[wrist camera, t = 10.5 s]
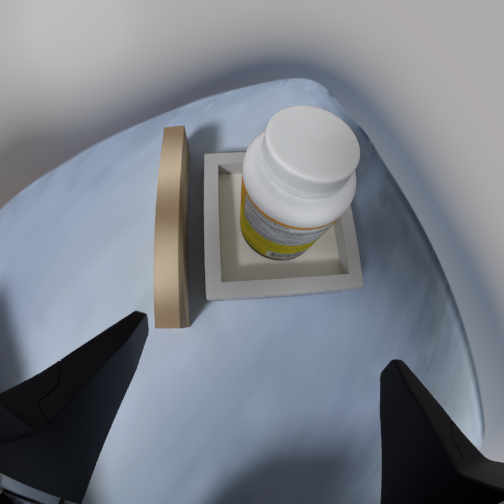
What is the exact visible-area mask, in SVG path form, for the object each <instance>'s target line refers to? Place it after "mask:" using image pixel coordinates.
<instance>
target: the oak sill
mask: <svg viewBox="0 0 504 504" xmlns="http://www.w3.org/2000/svg"><path fill="white" fill-rule="evenodd" d="M189 160H190V150H189V145H188V141H187V136H186V132H185V127H184V126H175V127H166V128H164V135H163V142H162V150H161V158H160V167H159V177H158V188H157V201H156V217H155V238H154V314H155V328H185V327H190V319H189V297H188V253H187V226H188V182H189Z"/></svg>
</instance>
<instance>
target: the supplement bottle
mask: <svg viewBox="0 0 504 504" xmlns="http://www.w3.org/2000/svg"><path fill="white" fill-rule="evenodd" d="M359 160H360V147H359V143H358V141H357V138H356V136H355V134H354V133H353V131H352V130H351V128H350V127H349V126H348V125H347V124H346V123H345V122H344V121H343V120H341V119H340V118H339V117H337V116H336V115H334V114H333V113H331V112H329V111H326V110H324V109H321V108H318V107H313V106H304V105H298V106H292V107H288V108H285V109H283V110H281V111H279V112H277V113H276V114H275V115H274V116H273V117H272V118H271V119H270V121H269V123H268V125H267V127H266V131H264V132H263V133H261V134H260V135H258V136H257V137H256V138H255V139H254V140H253V141H252V143H251V144H250V145H249V147H248V149H247V151H246V153H245V156H244V160H243V167H242V183H241V204H240V228H241V232H242V235H243V238H244V240H245V241H246V243H247V244H248V246H249V247H250V248H251V249H252V250H253V251H254V252H256V253H257V254H259V255H260V256H262V257H264V258H267V259H270V260H275V261H286V260H291V259H294V258H296V257H298V256H300V255H302V254H303V253H304V252H306V251H307V250H308V249H309V248H310V247H311V246H312V245H313V244H314V243H315V242H316V241H317V240H318V239H319V238H320V237H321V236H322V235H323V234H324V233H325V232H326V231H327V230H328V229H329V228H330V227H331V226H332V225H333V224H334V223H335V222H336V221H337V220H338V219H339V218H340V217H341V215H342V214H343V213H344V212H345V211H346V210H347V209H348V207H349V206H350V204H351V202H352V200H353V198H354V195H355V192H356V184H357V181H356V172H355V169H356V168H357V166H358V163H359Z"/></svg>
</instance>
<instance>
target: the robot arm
mask: <svg viewBox="0 0 504 504" xmlns="http://www.w3.org/2000/svg"><path fill="white" fill-rule="evenodd" d="M148 331H149V329H148V318H147V314H145V313H143V312H139V311H134V312H133V313H131V314H129V315H128V316H126V317H125V318H123V319H122V320H120V321H119V322H117V323H116V324H114V325H113V326H111V327H109V328H108V329H106V330H105V331H103V332H102V333H100V334H99V335H97V336H96V337H94V338H93V339H91V340H90V341H88V342H87V343H85V344H84V345H82V346H81V347H79V348H78V349H76V350H75V351H73V352H72V353H70V354H69V355H67V356H66V357H64V358H63V359H61V361H58V362H56V363H55V364H53V365H52V366H50V367H49V368H47V369H46V370H44V371H42V372H41V373H39V374H37V375H35V376H34V377H32V378H30V379H28V380H26V381H24V382H22V383H20V384H18V385H16V386H14V387H12V388H10V389H8V390H7V391H4V392H2V393H0V504H58V503H59V500H60V498H61V499H65V500H68V501H71V502H75V503H78V504H82V501H83V499H84V496H85V493H86V490H87V487H88V484H89V482H90V479H91V476H92V474H93V471H94V468H95V466H96V462H97V460H98V458H99V455H100V452H101V450H102V447H103V445H104V443H105V440H106V438H107V435H108V433H109V430H110V428H111V426H112V423H113V421H114V419H115V416H116V414H117V412H118V409H119V407H120V405H121V403H122V400H123V398H124V396H125V394H126V391H127V389H128V387H129V385H130V383H131V381H132V378H133V376H134V374H135V371H136V369H137V366H138V363H139V360H140V357H141V354H142V351H143V348H144V345H145V342H146V339H147V336H148ZM380 421H381V443H382V486H381V504H504V463H502V462H495V461H491V460H489V459H487V458H485V457H484V456H483V455H482V454H481V453H480V452H479V450H478V449H477V448H476V447H475V446H474V445H473V444H472V443H471V442H470V441H469V440H468V438H467V437H466V436H465V435H464V434H463V433H462V432H461V430H460V429H459V428H458V427H457V426H456V424H455V423H454V422H453V421H452V420H451V418H450V417H449V416H448V414H447V413H446V412H445V411H444V409H443V408H442V407H441V406H440V404H439V403H438V402H437V401H436V400H435V398H434V397H433V396H432V395H431V394H430V392H429V391H428V390H427V389H426V388H425V386H424V385H423V384H422V383H421V382H420V380H419V379H418V378H417V377H416V376H415V375H414V373H413V372H412V371H411V370H410V369H409V368H408V366H407V365H406V364H405V363H404V362H403V361H402V360H396V359H394V360H391V361H390V363H389V364H388V365H387V366H386V367H385V369H384V370H383V371H382V373H381V376H380Z"/></svg>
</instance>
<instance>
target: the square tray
mask: <svg viewBox="0 0 504 504" xmlns="http://www.w3.org/2000/svg"><path fill="white" fill-rule="evenodd" d="M245 153H246V152H236V153H212V154H204V251H205V283H206V299H207V300H208V301H222V300H242V299H258V298H273V297H286V296H299V295H310V294H321V293H332V292H341V291H351V290H355V289H358V288H362V287H364V285H363V277H362V269H361V262H360V255H359V249H358V242H357V236H356V231H355V225H354V220H353V214H352V209H351V204H350V206H349V207H348V209H347V210H346V211H345V212H344V213H343V214H342V215H341V217H340V218H339V219H338V220H337V221H336V222H335V223H334V224H333V225H332V226H331V227H330V228H329V229H328V230H327V231H326V232H325V233H324V234H323V235H322V236H321V237H320V238H319V239H318V240H317V241H316V242H315V243H314V244H313V245H312V246H311V247H310V248H309V249H308V250H307V251H306V252H304V253H303V254H302V255H300V256H298V257H296V258H294V259H291V260H286V261H275V260H270V259H267V258H264V257H262V256H260V255H259V254H257V253H256V252H254V251H253V250H252V249H251V248H250V247H249V246H248V244H247V243H246V241H245V240H244V238H243V235H242V232H241V228H240V204H241V183H242V167H243V160H244V156H245Z"/></svg>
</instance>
